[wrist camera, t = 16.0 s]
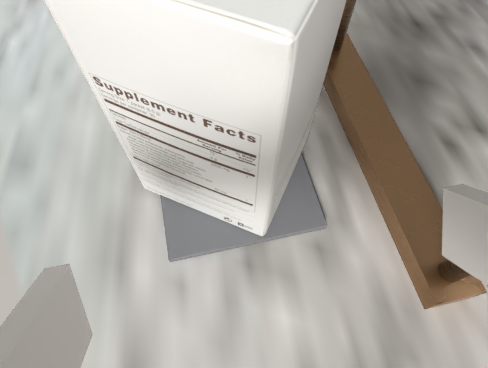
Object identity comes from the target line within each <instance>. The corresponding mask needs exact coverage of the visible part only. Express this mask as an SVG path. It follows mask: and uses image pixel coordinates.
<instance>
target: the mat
mask: <svg viewBox="0 0 488 368" xmlns="http://www.w3.org/2000/svg"><path fill="white" fill-rule="evenodd" d="M161 203H162V211H163V219H164V226H165V234H166V242H167V250H168V258H169V260H170V262H173V261H177V260H182V259H187V258H191V257H196V256H200V255H205V254H210V253H214V252H219V251H224V250H228V249H233V248H237V247H242V246H247V245H251V244H256V243H260V242H265V241H270V240H274V239H279V238H284V237H288V236H293V235H297V234H302V233H307V232H311V231H316V230H320V229H325V228H326V226H327V223H326V220H325V218H324V215H323V212H322V209H321V207H320V204H319V201H318V198H317V196H316V193H315V190H314V187H313V185H312V182H311V179H310V176H309V174H308V171H307V168H306V165H305V163H304V160H303V157H302V154H300V157H299V159H298V161H297V164H296V166H295V168H294V171H293V173H292V175H291V178H290V180H289V182H288V184H287V187H286V189H285V191H284V194H283V196H282V198H281V201H280V203H279V205H278V207H277V210H276V212H275V214H274V217H273V219H272V221H271V223H270V226H269V228H268V230H267V232H266V234H265V235H264V236H260V235H257V234H254V233H252V232H249V231H247V230H245V229H242V228H240V227H237V226H235V225H233V224H230V223H228V222H225V221H223V220H220V219H218V218H216V217H213V216H211V215H208V214H206V213H203V212H201V211H198V210H196V209H194V208H191V207H189V206H186V205H184V204H181V203H179V202H176V201H174V200H172V199H169V198H167V197H164V196H162V195H161Z"/></svg>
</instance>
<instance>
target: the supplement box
mask: <svg viewBox="0 0 488 368" xmlns="http://www.w3.org/2000/svg"><path fill="white" fill-rule="evenodd" d="M44 1H45V3H46V5H47V6H48V8H49V10H50V12H51V14H52V16H53V18H54V20H55V21H56V23H57V25H58V27H59V29H60V31H61V33H62V35H63V36H64V38H65V40H66V42H67V44H68V46H69V48H70V50H71V51H72V53H73V55H74V57H75V59H76V61H77V63H78V65H79V66H80V68H81V70H82V72H83V74H84V76H85V78H86V79H87V81H88V83H89V85H90V87H91V89H92V91H93V93H94V94H95V96H96V98H97V100H98V102H99V104H100V106H101V108H102V109H103V111H104V113H105V115H106V117H107V119H108V121H109V123H110V125H111V126H112V128H113V130H114V132H115V134H116V136H117V138H118V140H119V141H120V143H121V145H122V147H123V149H124V151H125V153H126V154H127V156H128V158H129V160H130V162H131V164H132V166H133V168H134V170H135V171H136V173H137V175H138V177H139V179H140V181H141V183H142V185H143V187H144V188H145V189H147V190H150V191H152V192H155V193H157V194H159V195H162V196H164V197H167V198H169V199H172V200H174V201H176V202H179V203H181V204H184V205H186V206H189V207H191V208H194V209H196V210H198V211H201V212H203V213H206V214H208V215H211V216H213V217H216V218H218V219H220V220H223V221H225V222H228V223H230V224H233V225H235V226H237V227H240V228H242V229H245V230H247V231H249V232H252V233H254V234H257V235H260V236H264V235H265V234H266V232H267V230H268V228H269V226H270V223H271V221H272V219H273V217H274V214H275V212H276V210H277V207H278V205H279V203H280V201H281V198H282V196H283V194H284V191H285V189H286V187H287V184H288V182H289V180H290V178H291V175H292V173H293V171H294V168H295V166H296V164H297V161H298V159H299V157H300V154H301V152H302V150H303V147H304V145H305V143H306V140H307V138H308V136H309V133H310V129H311V125H312V122H313V118H314V115H315V111H316V107H317V104H318V100H319V97H320V93H321V90H322V86H323V83H324V79H325V75H326V72H327V68H328V65H329V61H330V57H331V54H332V50H333V47H334V43H335V40H336V36H337V32H338V29H339V25H340V22H341V18H342V14H343V11H344V7H345V4H346V0H44Z"/></svg>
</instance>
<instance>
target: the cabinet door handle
mask: <svg viewBox="0 0 488 368" xmlns="http://www.w3.org/2000/svg"><path fill="white" fill-rule="evenodd" d="M355 3H356V0H346V4H345V7H344V11H343V14H342V18H341V22H340V25H339V29H338V32H337V36H336V40H335V43H334V47H333V50H332V54H331V57H330V61H329V65H328V68H327V72H326V75H325V79H324V83H323V84H324V86H325V89H326V91H327V93H328V95H329V97H330V100H331V102H332V104H333V106H334V109H335V111H336V113H337V115H338V117H339V120H340V122H341V124H342V126H343V129H344V131H345V133H346V135H347V138H348V140H349V142H350V144H351V146H352V149H353V151H354V153H355V155H356V158H357V160H358V162H359V164H360V166H361V169H362V171H363V173H364V175H365V178H366V180H367V182H368V184H369V186H370V189H371V191H372V193H373V195H374V198H375V200H376V202H377V204H378V207H379V209H380V211H381V213H382V215H383V218H384V220H385V222H386V224H387V227H388V229H389V231H390V233H391V235H392V238H393V240H394V242H395V244H396V247H397V249H398V251H399V253H400V255H401V258H402V260H403V262H404V264H405V267H406V269H407V271H408V273H409V276H410V278H411V280H412V282H413V284H414V287H415V289H416V291H417V293H418V296H419V298H420V300H421V302H422V304H423V307H424V309H428V308H432V307H436V306H440V305H444V304H447V303H451V302H455V301H459V300H463V299H467V298H471V297H474V296H477V295H480V294H484V293H487V291H486V289H485V288H484V286H483V284H482V282H481V281H480V280H478V279H477V278H475V277H474V276H472V275H471V274H469V273H468V272H466V271H465V270H463V269H462V268H460V267H459V266H457V265H456V264H454V263H453V262H451V261H450V260H448V259H447V258H445V257H443V256H442V225H443V210H442V208H441V206H440V204H439V203H438V201H437V199H436V197H435V195H434V193H433V192H432V190H431V188H430V186H429V184H428V182H427V180H426V179H425V177H424V175H423V173H422V171H421V169H420V167H419V166H418V164H417V162H416V160H415V158H414V156H413V155H412V153H411V151H410V149H409V147H408V145H407V143H406V142H405V140H404V138H403V136H402V134H401V132H400V131H399V129H398V127H397V125H396V123H395V121H394V119H393V118H392V116H391V114H390V112H389V110H388V108H387V107H386V105H385V103H384V101H383V99H382V97H381V95H380V94H379V92H378V90H377V88H376V86H375V84H374V83H373V81H372V79H371V77H370V75H369V73H368V71H367V70H366V68H365V66H364V64H363V62H362V60H361V58H360V57H359V55H358V53H357V51H356V49H355V47H354V46H353V44H352V42H351V40H350V38H349V36H348V34H347V33H346V32H347V28H348V25H349V22H350V19H351V16H352V12H353V9H354V6H355Z"/></svg>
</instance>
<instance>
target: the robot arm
mask: <svg viewBox="0 0 488 368" xmlns="http://www.w3.org/2000/svg"><path fill="white" fill-rule="evenodd" d="M442 256H443V257H445V258H447V259H448V260H450V261H451V262H453V263H454V264H456V265H457V266H459V267H460V268H462V269H463V270H465V271H466V272H468V273H469V274H471V275H472V276H474V277H475V278H477V279H478V280H480V281H481V282H483V283H484V284H486V285H487V286H488V193H486V192H483V191H481V190H478V189H475V188H472V187H469V186H467V185H464V184H460V185H455V186H451V187H446V188H443V225H442ZM91 337H92V331H91V328H90V325H89V322H88V319H87V316H86V313H85V310H84V307H83V304H82V301H81V298H80V295H79V292H78V289H77V286H76V283H75V280H74V277H73V274H72V271H71V268H70V265H69V264H66V265H61V266H56V267H51V268H46V269H44V270H43V271H42V272H41V274H40V275H39V276H38V278H37V279H36V280H35V282H34V283H33V284H32V286H31V287H30V288H29V289H28V291H27V292H26V293H25V295H24V296H23V297H22V299H21V300H20V301H19V303H18V304H17V305H16V307H15V308H14V309H13V311H12V312H11V313H10V314H9V316H8V317H7V318H6V320H5V321H4V322H3V324H2V325H1V326H0V368H80V367H81V364H82V361H83V359H84V356H85V353H86V351H87V348H88V345H89V343H90V340H91Z"/></svg>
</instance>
